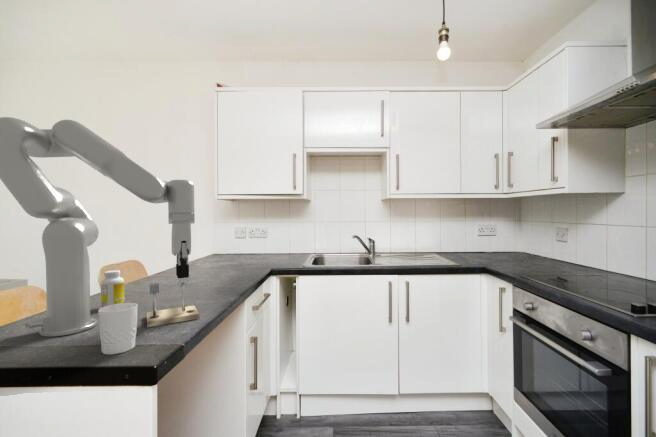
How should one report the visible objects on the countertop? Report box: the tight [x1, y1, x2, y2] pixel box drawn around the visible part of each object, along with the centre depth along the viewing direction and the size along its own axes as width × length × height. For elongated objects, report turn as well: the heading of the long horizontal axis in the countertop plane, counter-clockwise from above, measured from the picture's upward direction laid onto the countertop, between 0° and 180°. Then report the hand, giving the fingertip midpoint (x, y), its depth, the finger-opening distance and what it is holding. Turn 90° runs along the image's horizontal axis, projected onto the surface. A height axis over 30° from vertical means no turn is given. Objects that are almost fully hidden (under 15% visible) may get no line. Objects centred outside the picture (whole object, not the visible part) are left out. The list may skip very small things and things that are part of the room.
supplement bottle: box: [100, 269, 125, 308], centre depth 109 cm, size 7×7×13 cm
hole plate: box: [146, 305, 200, 328], centre depth 98 cm, size 14×11×2 cm
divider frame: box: [148, 280, 197, 316], centre depth 97 cm, size 13×3×9 cm, turn 121°
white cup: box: [97, 302, 139, 355], centre depth 75 cm, size 8×8×10 cm
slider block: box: [176, 276, 189, 311], centre depth 99 cm, size 3×4×14 cm
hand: (182, 276), depth 99 cm, fingers closed on slider block, 3 cm apart
